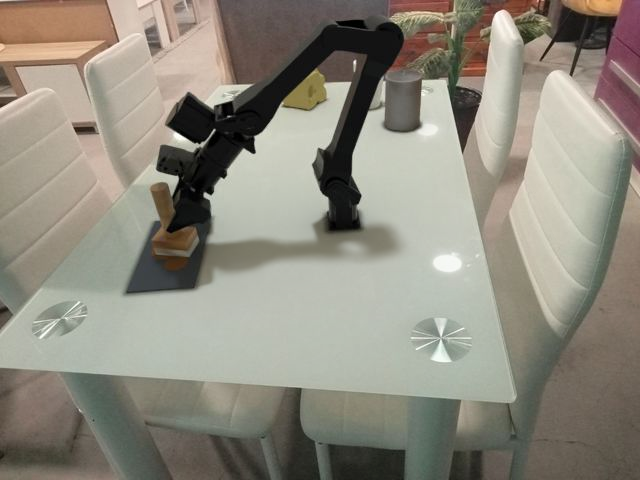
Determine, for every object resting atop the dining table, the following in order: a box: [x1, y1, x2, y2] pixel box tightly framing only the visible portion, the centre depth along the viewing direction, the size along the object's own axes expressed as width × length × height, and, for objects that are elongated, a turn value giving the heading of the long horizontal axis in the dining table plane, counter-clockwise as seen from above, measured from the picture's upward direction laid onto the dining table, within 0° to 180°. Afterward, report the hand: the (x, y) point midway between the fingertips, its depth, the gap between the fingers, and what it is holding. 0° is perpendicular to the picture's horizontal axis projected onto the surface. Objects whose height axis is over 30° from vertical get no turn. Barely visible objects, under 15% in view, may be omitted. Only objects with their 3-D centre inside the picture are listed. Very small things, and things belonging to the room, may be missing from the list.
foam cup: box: [352, 59, 385, 110], centre depth 143 cm, size 10×9×13 cm
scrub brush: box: [149, 181, 199, 257], centre depth 90 cm, size 7×5×14 cm
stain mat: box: [125, 217, 212, 294], centre depth 93 cm, size 22×12×1 cm, turn 2°
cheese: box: [282, 68, 328, 111], centre depth 149 cm, size 10×11×10 cm
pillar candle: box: [384, 68, 423, 132], centre depth 129 cm, size 10×10×15 cm
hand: (169, 217), depth 90 cm, fingers open, 9 cm apart
